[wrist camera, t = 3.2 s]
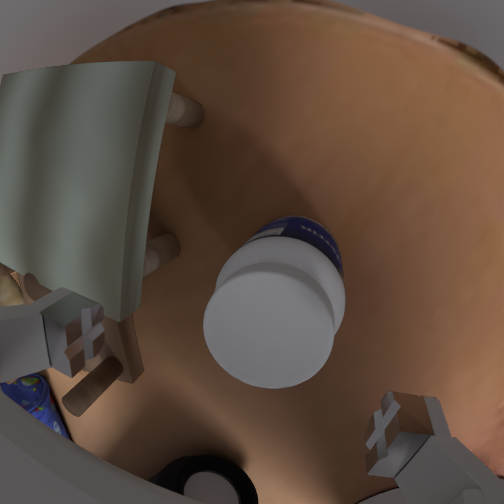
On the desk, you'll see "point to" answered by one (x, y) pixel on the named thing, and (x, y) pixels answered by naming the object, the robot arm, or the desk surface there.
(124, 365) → the upturned stool
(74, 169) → the small table
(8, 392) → the pencil case
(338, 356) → the desk surface
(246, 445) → the desk surface
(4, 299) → the hand bell
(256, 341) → the pill bottle
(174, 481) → the portable speaker
